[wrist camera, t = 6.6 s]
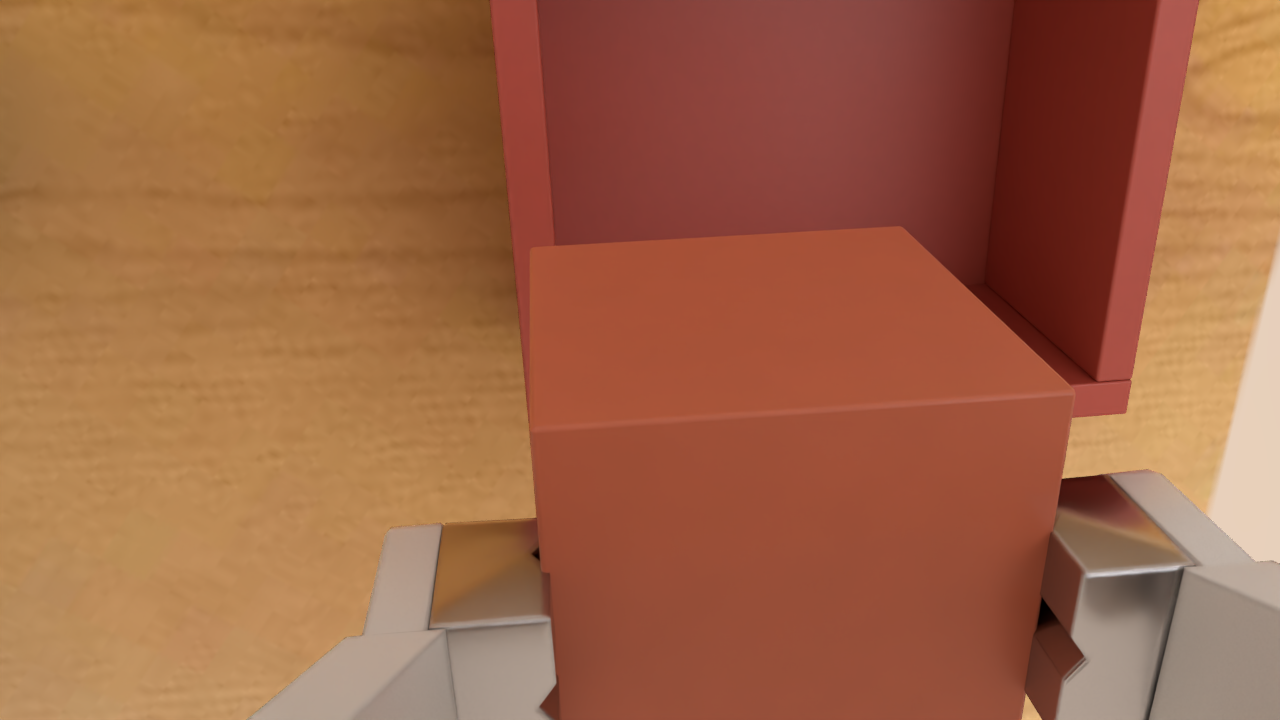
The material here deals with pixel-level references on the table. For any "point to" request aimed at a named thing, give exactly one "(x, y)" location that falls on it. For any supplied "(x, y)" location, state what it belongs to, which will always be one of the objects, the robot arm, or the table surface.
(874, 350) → the terracotta block
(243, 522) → the table surface
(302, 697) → the robot arm
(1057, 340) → the red bin
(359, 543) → the table surface
